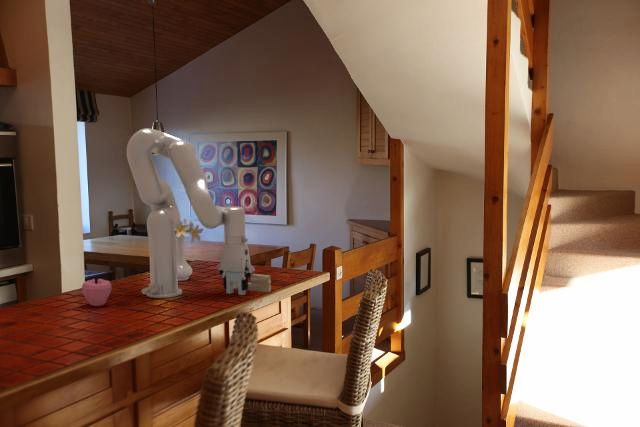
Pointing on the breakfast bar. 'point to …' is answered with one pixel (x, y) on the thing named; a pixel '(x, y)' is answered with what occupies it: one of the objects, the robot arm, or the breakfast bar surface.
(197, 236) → the flower vase
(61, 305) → the breakfast bar surface
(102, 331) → the breakfast bar surface
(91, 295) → the apple
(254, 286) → the beige notched bar
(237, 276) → the notched plate
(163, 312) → the breakfast bar surface
